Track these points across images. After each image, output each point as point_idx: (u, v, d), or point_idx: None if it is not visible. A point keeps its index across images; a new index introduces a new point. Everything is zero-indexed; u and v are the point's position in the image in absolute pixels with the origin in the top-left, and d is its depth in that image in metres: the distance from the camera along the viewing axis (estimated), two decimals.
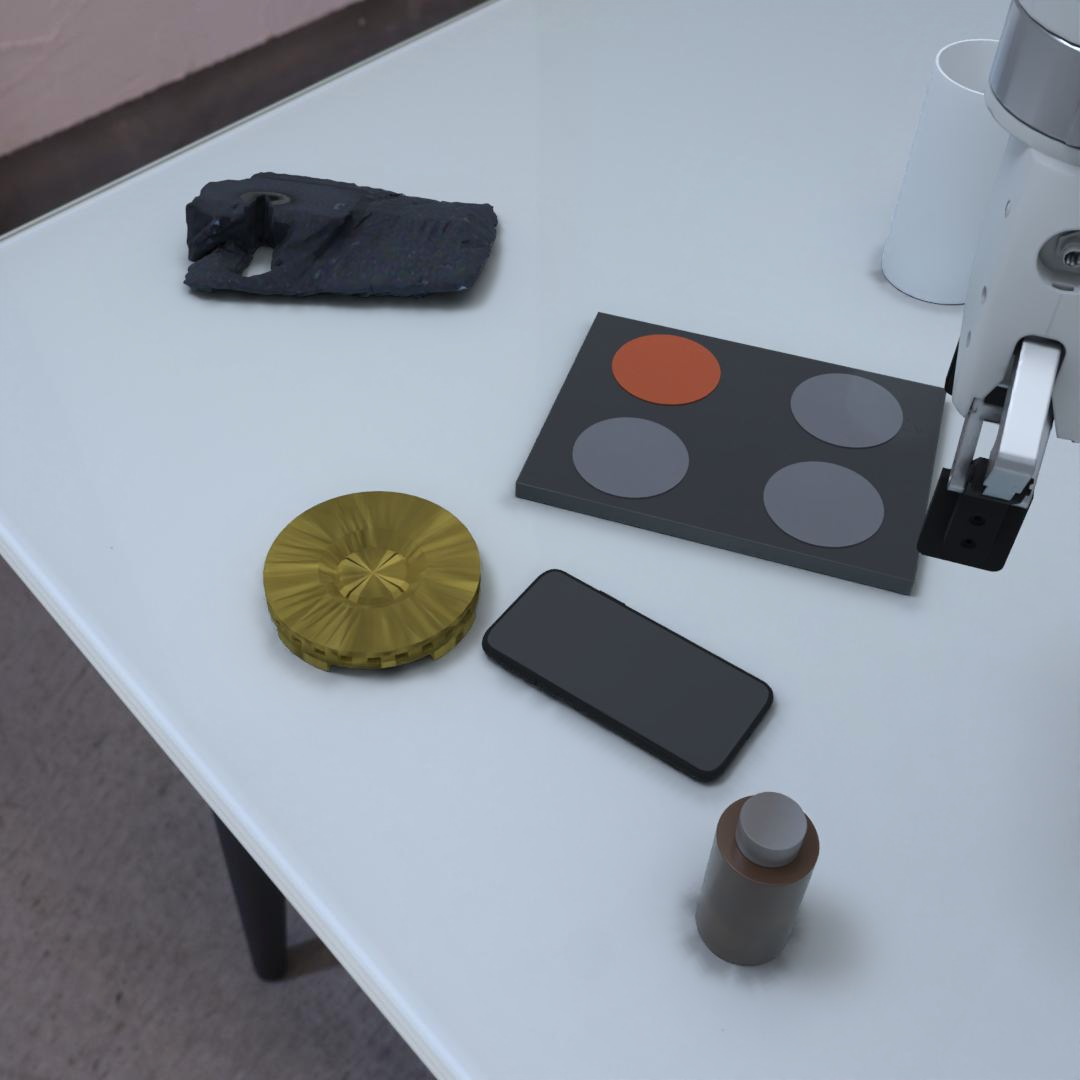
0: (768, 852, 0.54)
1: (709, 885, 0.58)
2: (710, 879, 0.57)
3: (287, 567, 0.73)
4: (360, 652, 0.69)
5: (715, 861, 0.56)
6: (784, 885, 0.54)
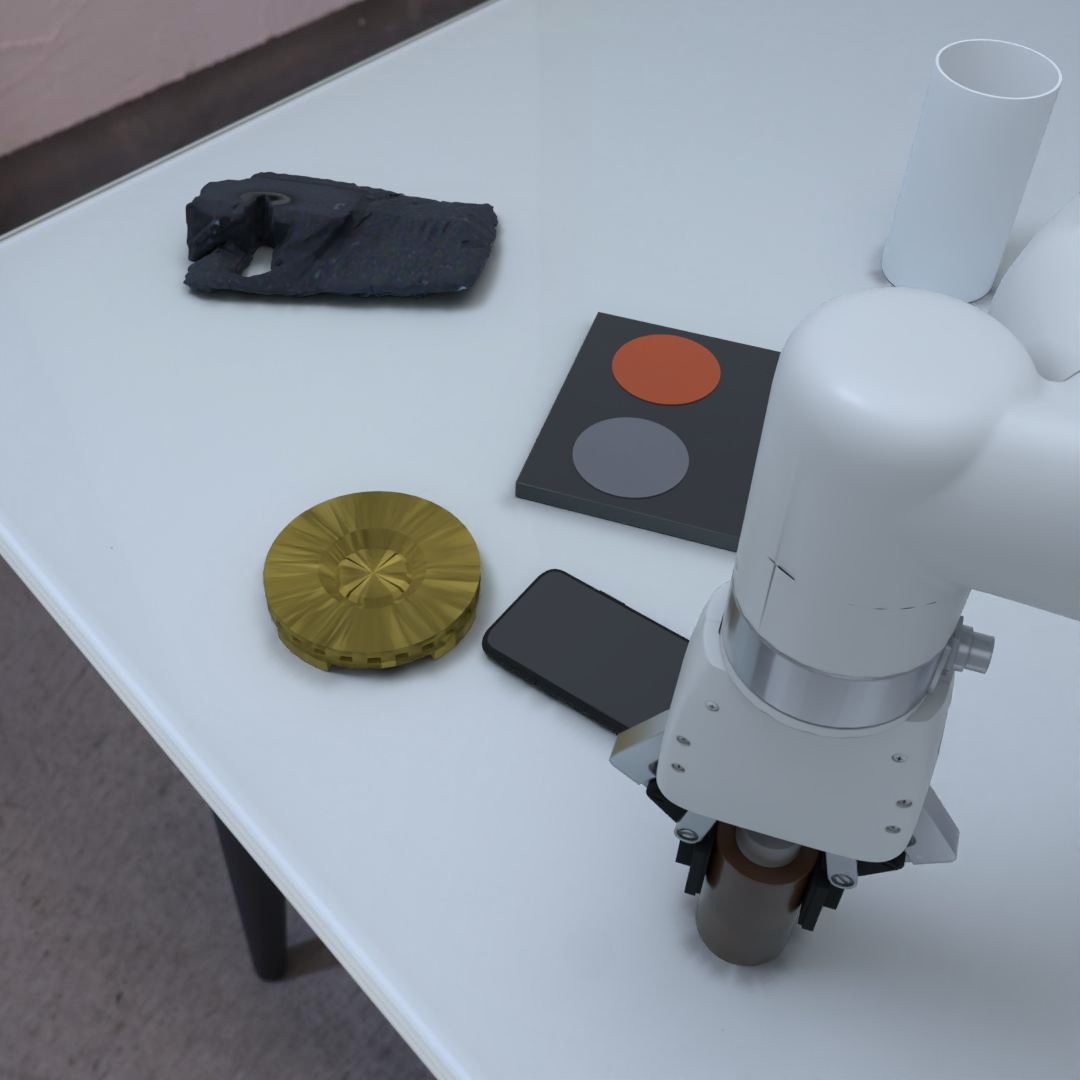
0: (768, 852, 0.54)
1: (709, 885, 0.58)
2: (710, 879, 0.57)
3: (287, 567, 0.73)
4: (360, 652, 0.69)
5: (715, 861, 0.56)
6: (784, 885, 0.54)
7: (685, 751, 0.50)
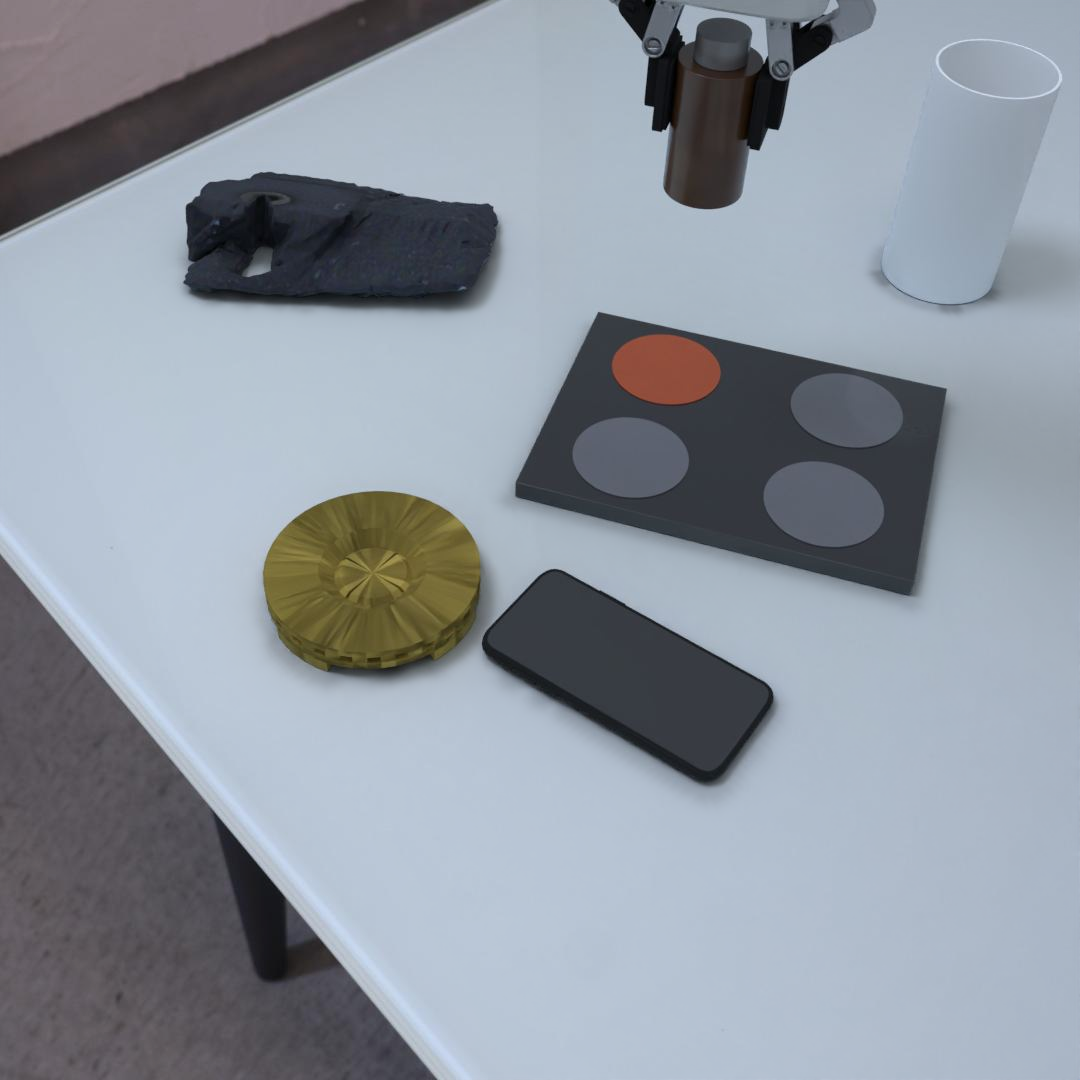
0: (719, 48, 0.65)
1: (672, 119, 0.69)
2: (673, 111, 0.68)
3: (287, 567, 0.73)
4: (360, 652, 0.69)
5: (677, 82, 0.67)
6: (733, 81, 0.65)
7: None
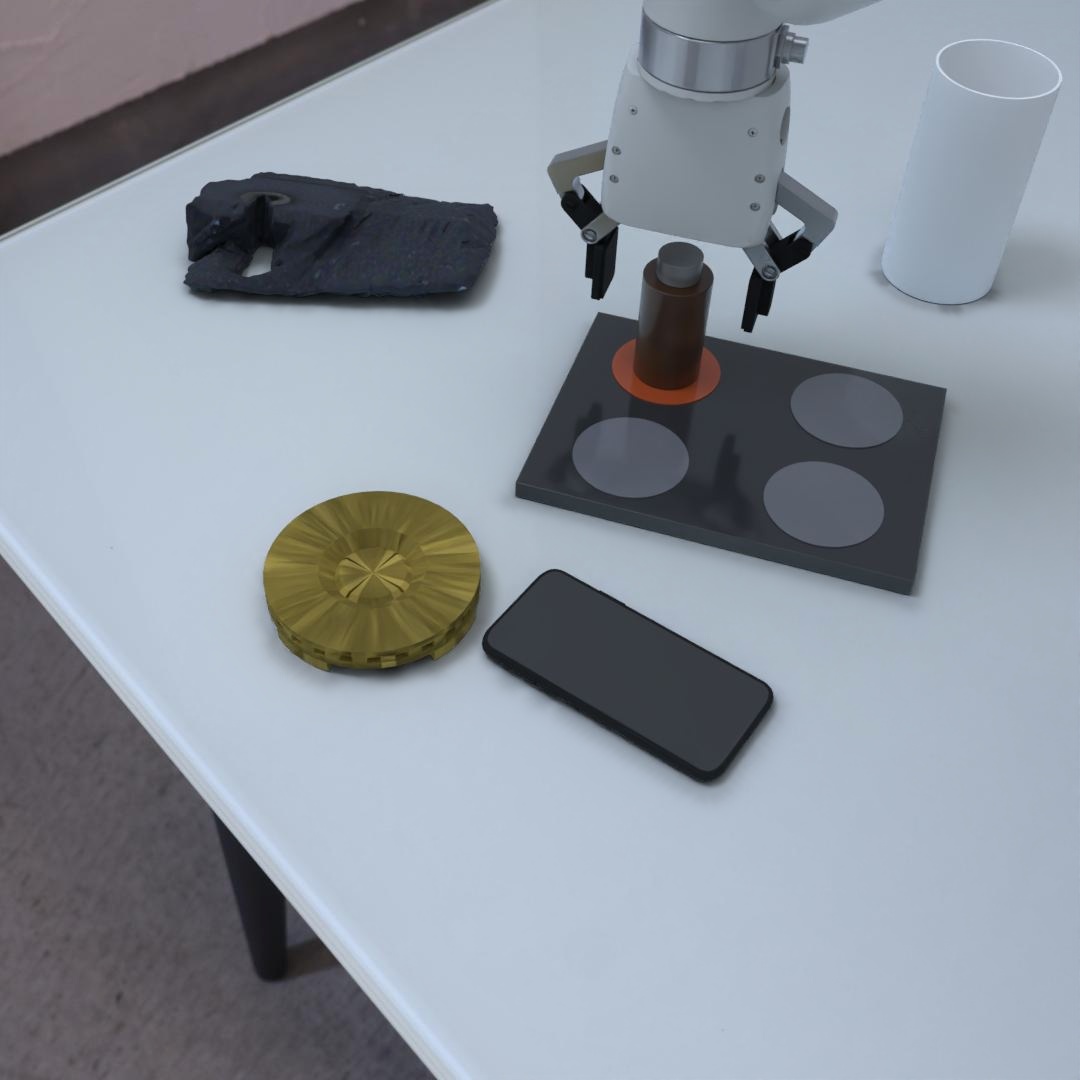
0: (676, 271, 0.79)
1: (640, 320, 0.83)
2: (640, 314, 0.83)
3: (287, 567, 0.73)
4: (360, 652, 0.69)
5: (642, 293, 0.82)
6: (688, 297, 0.80)
7: (618, 160, 0.75)
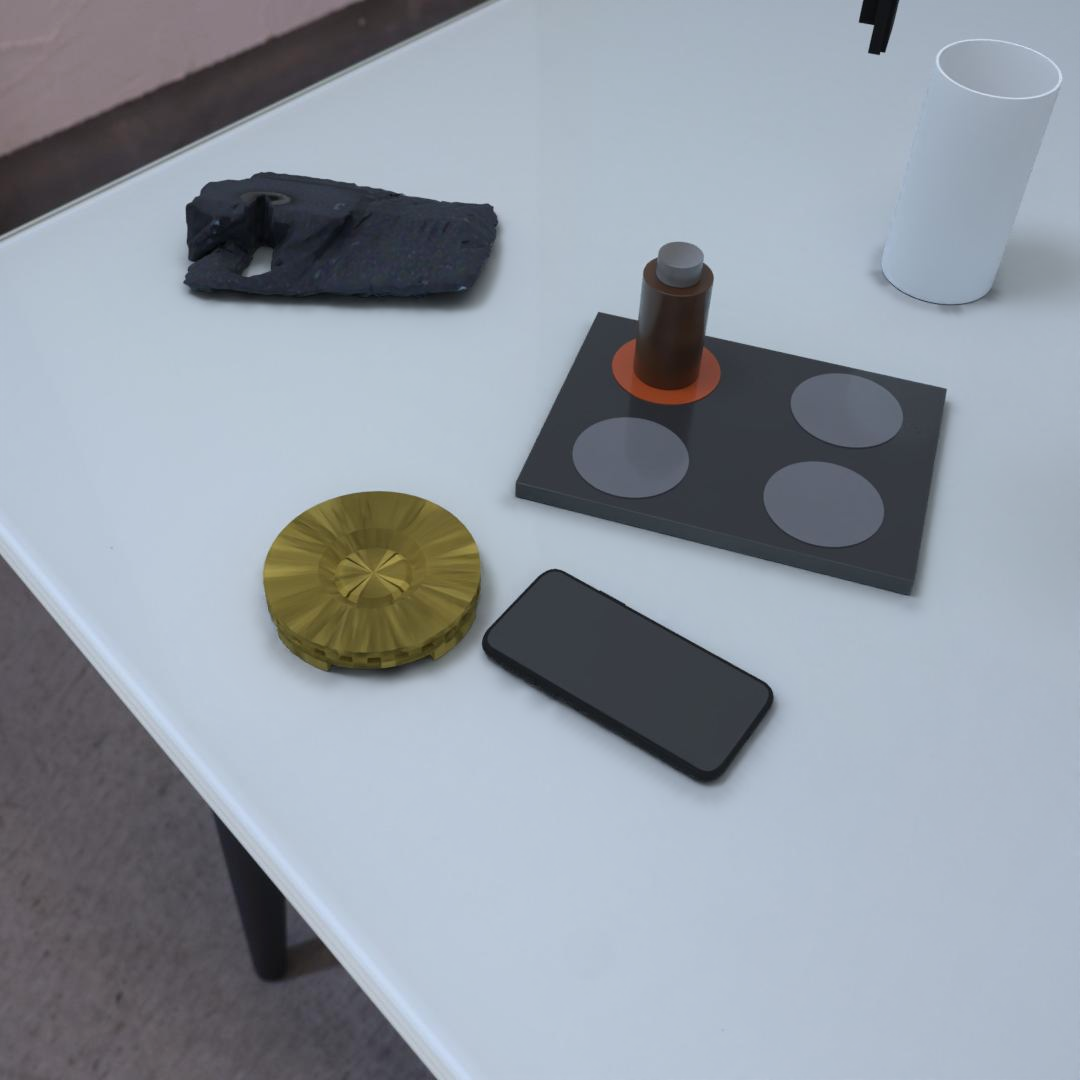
0: (676, 271, 0.79)
1: (640, 320, 0.83)
2: (640, 314, 0.83)
3: (287, 567, 0.73)
4: (360, 652, 0.69)
5: (642, 293, 0.82)
6: (688, 297, 0.80)
7: None
